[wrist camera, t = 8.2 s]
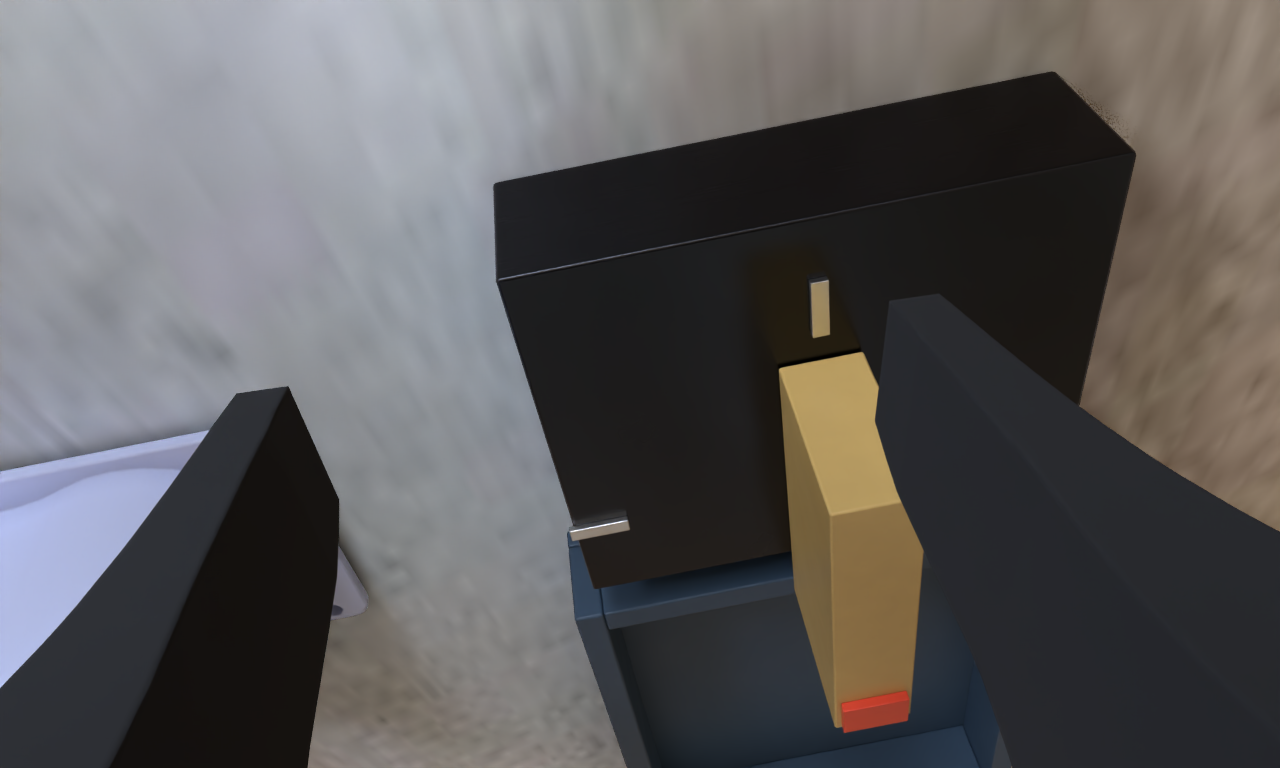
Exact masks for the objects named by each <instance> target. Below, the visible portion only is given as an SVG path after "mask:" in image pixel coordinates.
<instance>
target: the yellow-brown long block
mask: <svg viewBox="0 0 1280 768" xmlns="http://www.w3.org/2000/svg"><path fill="white" fill-rule="evenodd" d="M779 380H780V394H781V408H782V422H783V437H784V451H785V465H786V479H787V493H788V507H789V521H790V535H791V549H792V563H793V577H794V589H795V593H796V596H797V600H798V603H799V606H800V610H801V613H802V617H803V620H804V624H805V627H806V630H807V634H808V637H809V641H810V644H811V647H812V651H813V654H814V658H815V661H816V665H817V668H818V671H819V675H820V678H821V682H822V685H823V688H824V692H825V695H826V699H827V702H828V706H829V709H830V712H831V716H832V719H833V723H834V726H835V727H836V728H839V727H843V730H844V733H847V732H852V731H857V730H862V729H868V728H873V727H878V726H883V725H888V724H893V723H899V722H904V721H908V714H909V713H910V708H911V696H912V684H913V672H914V660H915V648H916V636H917V624H918V612H919V600H920V589H921V577H922V565H923V553H924V550H923V548H922V546H921V544H920V542H919V539H918V537H917V535H916V533H915V531H914V529H913V526H912V524H911V522H910V520H909V518H908V515H907V513H906V511H905V509H904V507H903V504H902V502H901V500H900V498H899V496H898V493H897V491H896V488H895V485H894V482H893V478H892V475H891V472H890V469H889V466H888V463H887V460H886V457H885V453H884V450H883V447H882V444H881V440H880V437H879V434H878V430H877V427H876V424H875V414H876V406H877V398H878V390H879V386H878V384H877V381H876V379H875V377H874V375H873V373H872V370H871V368H870V366H869V364H868V362H867V359H866V357H865V355H864V353H863V352H858V353H853V354H848V355H843V356H838V357H833V358H828V359H823V360H818V361H813V362H808V363H803V364H798V365H793V366H788V367H783V368H780V369H779Z"/></svg>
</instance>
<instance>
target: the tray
mask: <svg viewBox="0 0 1280 768" xmlns="http://www.w3.org/2000/svg"><path fill="white" fill-rule="evenodd" d="M567 537H568V547H569V559H570V570H571V581H572V592H573V603H574V614H575V621H576V624H577V627H578V630H579V633H580V635H581V638H582V641H583V644H584V647H585V650H586V652H587V655H588V658H589V661H590V664H591V667H592V669H593V672H594V675H595V678H596V681H597V684H598V686H599V689H600V692H601V695H602V698H603V701H604V703H605V706H606V709H607V712H608V715H609V718H610V720H611V723H612V726H613V729H614V732H615V735H616V737H617V740H618V743H619V746H620V749H621V752H622V754H623V757H624V760H625V763H626V766H627V768H1011V762H1010V759H1009V756H1008V753H1007V750H1006V747H1005V744H1004V741H1003V738H1002V735H1001V732H1000V729H999V727H998V724H997V721H996V718H995V715H994V712H993V709H992V706H991V703H990V701H989V698H988V695H987V692H986V689H985V686H984V683H983V680H982V678H981V675H980V673H979V670H978V668H977V666H976V663H975V661H974V658H973V656H972V654H971V651H970V649H969V646H968V644H967V642H966V640H965V638H964V636H963V633H962V631H961V629H960V627H959V625H958V623H957V621H956V618H955V616H954V614H953V612H952V610H951V608H950V606H949V603H948V601H947V599H946V597H945V595H944V593H943V591H942V589H941V586H940V584H939V582H938V580H937V578H936V576H935V574H934V571H933V569H932V567H931V565H930V563H929V561H928V559H927V557H926V554H925V552H924V553H923V565H922V577H921V589H920V600H919V612H918V624H917V636H916V648H915V660H914V672H913V684H912V696H911V708H910V713H909V714H908V721H904V722H899V723H893V724H888V725H883V726H878V727H873V728H868V729H862V730H857V731H852V732H847V733H844V730H843V727H839V728H836V727H835V726H834V723H833V719H832V716H831V712H830V709H829V706H828V702H827V699H826V695H825V692H824V688H823V685H822V682H821V678H820V675H819V671H818V668H817V665H816V661H815V658H814V654H813V651H812V647H811V644H810V641H809V637H808V634H807V630H806V627H805V624H804V620H803V617H802V613H801V610H800V606H799V603H798V600H797V596H796V593H795V589H794V577H793V563H792V551H789V552H784V553H779V554H774V555H769V556H764V557H759V558H754V559H749V560H743V561H738V562H733V563H728V564H723V565H718V566H713V567H708V568H703V569H698V570H692V571H687V572H682V573H677V574H672V575H667V576H662V577H657V578H652V579H646V580H641V581H636V582H631V583H626V584H621V585H616V586H611V587H606V588H600V589H594V588H593V586H592V583H591V580H590V576H589V573H588V570H587V567H586V564H585V561H584V557H583V554H582V551H581V548H580V545H579V542H578V540H576V541H572V539H571V535H570V532H568V533H567Z"/></svg>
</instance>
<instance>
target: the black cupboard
mask: <svg viewBox="0 0 1280 768" xmlns="http://www.w3.org/2000/svg"><path fill="white" fill-rule="evenodd" d="M1135 158H1136V153H1135V151H1134V150H1133V149H1132V148H1131V147H1130V146H1129V145H1128V144H1127V143H1126V142H1125V141H1124V140H1123V139H1122V138H1121V137H1120V136H1119V135H1118V134H1117V133H1116V132H1115V131H1114V130H1113V129H1112V128H1111V127H1110V126H1109V125H1108V124H1107V123H1106V122H1105V121H1104V120H1103V119H1102V118H1101V117H1100V116H1099V115H1098V114H1097V113H1096V112H1095V111H1094V110H1093V109H1092V108H1091V107H1090V106H1089V105H1088V104H1087V103H1086V102H1085V101H1084V100H1083V99H1082V98H1081V97H1080V96H1079V95H1078V94H1077V93H1076V92H1075V91H1074V90H1073V89H1072V88H1071V87H1070V86H1069V85H1068V84H1067V83H1066V82H1065V81H1064V80H1063V79H1062V78H1061V77H1060V76H1059V75H1058V74H1057V73H1056V72H1047V73H1042V74H1037V75H1032V76H1027V77H1022V78H1017V79H1012V80H1007V81H1002V82H997V83H992V84H987V85H982V86H977V87H972V88H967V89H962V90H957V91H952V92H947V93H942V94H937V95H932V96H927V97H922V98H917V99H912V100H907V101H902V102H897V103H892V104H887V105H882V106H877V107H872V108H867V109H862V110H857V111H852V112H847V113H842V114H837V115H832V116H827V117H822V118H817V119H812V120H807V121H802V122H797V123H792V124H787V125H782V126H777V127H772V128H767V129H762V130H757V131H752V132H747V133H742V134H737V135H732V136H727V137H722V138H717V139H712V140H707V141H702V142H697V143H692V144H687V145H682V146H677V147H672V148H667V149H662V150H657V151H652V152H647V153H642V154H637V155H632V156H627V157H622V158H617V159H612V160H607V161H602V162H598V163H593V164H588V165H583V166H578V167H573V168H568V169H563V170H558V171H553V172H548V173H543V174H538V175H533V176H528V177H523V178H518V179H513V180H508V181H503V182H498V183H495V184H494V186H493V191H494V226H495V261H496V283H497V286H498V289H499V292H500V296H501V299H502V302H503V305H504V308H505V311H506V314H507V318H508V321H509V324H510V327H511V330H512V333H513V337H514V340H515V343H516V346H517V349H518V352H519V355H520V359H521V362H522V365H523V368H524V371H525V374H526V378H527V381H528V384H529V387H530V390H531V393H532V397H533V400H534V403H535V406H536V409H537V412H538V415H539V419H540V422H541V425H542V428H543V431H544V434H545V438H546V441H547V444H548V447H549V450H550V453H551V456H552V460H553V463H554V466H555V469H556V472H557V475H558V479H559V482H560V485H561V488H562V491H563V494H564V498H565V501H566V504H567V507H568V510H569V513H570V516H571V520H572V523H573V527H569V532H570V535H571V539H572V541H576V540H578V542H579V545H580V548H581V551H582V554H583V557H584V561H585V564H586V567H587V570H588V573H589V576H590V580H591V583H592V586H593V588H594V589H600V588H606V587H611V586H616V585H621V584H626V583H631V582H636V581H641V580H646V579H652V578H657V577H662V576H667V575H672V574H677V573H682V572H687V571H692V570H698V569H703V568H708V567H713V566H718V565H723V564H728V563H733V562H738V561H743V560H749V559H754V558H759V557H764V556H769V555H774V554H779V553H784V552H789V551H792V549H791V535H790V521H789V507H788V493H787V479H786V465H785V451H784V437H783V422H782V408H781V394H780V380H779V369H780V368H783V367H788V366H793V365H798V364H803V363H808V362H813V361H818V360H823V359H828V358H833V357H838V356H843V355H848V354H853V353H858V352H863V353H864V355H865V357H866V359H867V362H868V364H869V366H870V368H871V370H872V373H873V375H874V377H875V379H876V381H877V384H878V386H879V381H880V373H881V365H882V357H883V349H884V341H885V332H886V324H887V316H888V308H889V301H891V300H898V299H905V298H912V297H919V296H926V295H933V294H940V295H941V296H943V297H944V298H945V299H946V300H948V301H949V302H950V303H951V304H953V305H954V306H955V307H956V308H957V309H959V310H960V311H961V312H962V313H963V314H965V315H966V316H967V317H968V318H969V319H971V320H972V321H973V322H974V323H975V324H977V325H978V326H979V327H980V328H981V329H983V330H984V331H985V332H986V333H987V334H989V335H990V336H991V337H992V338H993V339H995V340H996V341H997V342H998V343H999V344H1001V345H1002V346H1003V347H1004V348H1006V349H1007V350H1008V351H1009V352H1010V353H1012V354H1013V355H1014V356H1015V357H1017V358H1018V359H1019V360H1020V361H1021V362H1023V363H1024V364H1025V365H1026V366H1028V367H1029V368H1030V369H1031V370H1033V371H1034V372H1035V373H1036V374H1038V375H1039V376H1040V377H1042V378H1043V379H1044V380H1045V381H1047V382H1048V383H1049V384H1051V385H1052V386H1053V387H1054V388H1056V389H1057V390H1058V391H1060V392H1061V393H1062V394H1063V395H1065V396H1066V397H1067V398H1069V399H1070V400H1071V401H1073V402H1074V403H1075V404H1077V405H1078V406H1079V404H1080V400H1081V396H1082V391H1083V387H1084V382H1085V378H1086V374H1087V369H1088V365H1089V360H1090V356H1091V352H1092V347H1093V343H1094V338H1095V334H1096V330H1097V325H1098V321H1099V317H1100V312H1101V308H1102V303H1103V299H1104V295H1105V290H1106V286H1107V281H1108V277H1109V273H1110V268H1111V264H1112V259H1113V255H1114V251H1115V246H1116V242H1117V237H1118V233H1119V229H1120V224H1121V220H1122V215H1123V211H1124V207H1125V202H1126V198H1127V193H1128V189H1129V185H1130V180H1131V176H1132V171H1133V167H1134V163H1135Z"/></svg>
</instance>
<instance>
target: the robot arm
mask: <svg viewBox="0 0 1280 768" xmlns="http://www.w3.org/2000/svg"><path fill="white" fill-rule="evenodd" d="M875 424H876V427H877V430H878V434H879V437H880V440H881V444H882V447H883V450H884V453H885V457H886V460H887V463H888V466H889V469H890V472H891V475H892V478H893V482H894V485H895V488H896V491H897V493H898V496H899V498H900V500H901V502H902V504H903V507H904V509H905V511H906V513H907V515H908V518H909V520H910V522H911V524H912V526H913V529H914V531H915V533H916V535H917V537H918V539H919V542H920V544H921V546H922V548H923V550H924V552H925V554H926V557H927V559H928V561H929V563H930V565H931V567H932V569H933V571H934V574H935V576H936V578H937V580H938V582H939V584H940V586H941V589H942V591H943V593H944V595H945V597H946V599H947V601H948V603H949V606H950V608H951V610H952V612H953V614H954V616H955V618H956V621H957V623H958V625H959V627H960V629H961V631H962V633H963V636H964V638H965V640H966V642H967V644H968V646H969V649H970V651H971V654H972V656H973V658H974V661H975V663H976V666H977V668H978V670H979V673H980V675H981V678H982V680H983V683H984V686H985V689H986V692H987V695H988V698H989V701H990V703H991V706H992V709H993V712H994V715H995V718H996V721H997V724H998V727H999V729H1000V732H1001V735H1002V738H1003V741H1004V744H1005V747H1006V750H1007V753H1008V756H1009V759H1010V762H1011V765H1012V768H1280V532H1279V531H1277V530H1275V529H1273V528H1271V527H1269V526H1268V525H1266V524H1264V523H1262V522H1260V521H1258V520H1257V519H1255V518H1253V517H1251V516H1249V515H1247V514H1246V513H1244V512H1242V511H1240V510H1238V509H1237V508H1235V507H1233V506H1231V505H1230V504H1228V503H1226V502H1225V501H1223V500H1221V499H1219V498H1218V497H1216V496H1214V495H1213V494H1211V493H1209V492H1208V491H1206V490H1204V489H1203V488H1201V487H1199V486H1198V485H1196V484H1194V483H1192V482H1191V481H1189V480H1187V479H1186V478H1184V477H1182V476H1181V475H1179V474H1177V473H1176V472H1174V471H1173V470H1171V469H1169V468H1168V467H1166V466H1165V465H1163V464H1162V463H1160V462H1158V461H1157V460H1155V459H1154V458H1152V457H1151V456H1149V455H1148V454H1146V453H1145V452H1143V451H1142V450H1140V449H1139V448H1138V447H1136V446H1135V445H1133V444H1132V443H1130V442H1129V441H1127V440H1126V439H1124V438H1123V437H1122V436H1120V435H1119V434H1117V433H1116V432H1114V431H1113V430H1111V429H1110V428H1108V427H1107V426H1106V425H1104V424H1103V423H1101V422H1100V421H1099V420H1097V419H1096V418H1094V417H1093V416H1092V415H1090V414H1089V413H1088V412H1086V411H1085V410H1084V409H1082V408H1081V407H1079V406H1078V405H1077V404H1075V403H1074V402H1073V401H1071V400H1070V399H1069V398H1067V397H1066V396H1065V395H1063V394H1062V393H1061V392H1060V391H1058V390H1057V389H1056V388H1054V387H1053V386H1052V385H1051V384H1049V383H1048V382H1047V381H1045V380H1044V379H1043V378H1042V377H1040V376H1039V375H1038V374H1036V373H1035V372H1034V371H1033V370H1031V369H1030V368H1029V367H1028V366H1026V365H1025V364H1024V363H1023V362H1021V361H1020V360H1019V359H1018V358H1017V357H1015V356H1014V355H1013V354H1012V353H1010V352H1009V351H1008V350H1007V349H1006V348H1004V347H1003V346H1002V345H1001V344H999V343H998V342H997V341H996V340H995V339H993V338H992V337H991V336H990V335H989V334H987V333H986V332H985V331H984V330H983V329H981V328H980V327H979V326H978V325H977V324H975V323H974V322H973V321H972V320H971V319H969V318H968V317H967V316H966V315H965V314H963V313H962V312H961V311H960V310H959V309H957V308H956V307H955V306H954V305H953V304H951V303H950V302H949V301H948V300H946V299H945V298H944V297H943V296H941V295H940V294H933V295H926V296H919V297H912V298H905V299H898V300H891V301H889V308H888V316H887V324H886V332H885V341H884V349H883V357H882V365H881V373H880V381H879V390H878V398H877V406H876V414H875ZM338 543H339V498H338V496H337V494H336V492H335V489H334V487H333V485H332V483H331V480H330V478H329V476H328V474H327V471H326V469H325V467H324V465H323V463H322V460H321V458H320V456H319V454H318V451H317V449H316V447H315V445H314V442H313V440H312V438H311V436H310V434H309V431H308V429H307V427H306V425H305V422H304V420H303V418H302V416H301V413H300V411H299V409H298V407H297V405H296V402H295V400H294V398H293V396H292V393H291V391H290V389H289V387H288V386H286V387H279V388H272V389H265V390H258V391H251V392H244V393H237V394H236V395H235V396H234V398H233V399H232V400H231V402H230V403H229V404H228V406H227V407H226V408H225V410H224V411H223V412H222V414H221V415H220V416H219V418H218V419H217V421H216V422H215V423H214V425H213V426H212V428H211V429H210V430H207V431H202V432H197V433H192V434H186V435H181V436H176V437H171V438H166V439H161V440H156V441H151V442H146V443H141V444H136V445H131V446H126V447H121V448H116V449H111V450H106V451H101V452H96V453H91V454H86V455H81V456H76V457H70V458H65V459H60V460H55V461H50V462H45V463H40V464H35V465H30V466H25V467H20V468H15V469H10V470H5V471H0V768H307V767H308V759H309V750H310V743H311V737H312V731H313V725H314V719H315V713H316V707H317V700H318V694H319V688H320V682H321V676H322V670H323V664H324V658H325V652H326V646H327V640H328V633H329V627H330V621H331V620H336V619H341V618H346V617H351V616H356V615H359V614H361V613H363V612H364V611H366V609H367V607H368V599H369V598H368V594H367V592H366V590H365V589H364V587H363V585H362V584H361V582H360V580H359V579H358V577H357V575H356V574H355V572H354V570H353V569H352V567H351V565H350V564H349V562H348V560H347V559H346V557H345V555H344V554H343V552H342V550H341V549H340V547H339V545H338Z"/></svg>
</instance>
